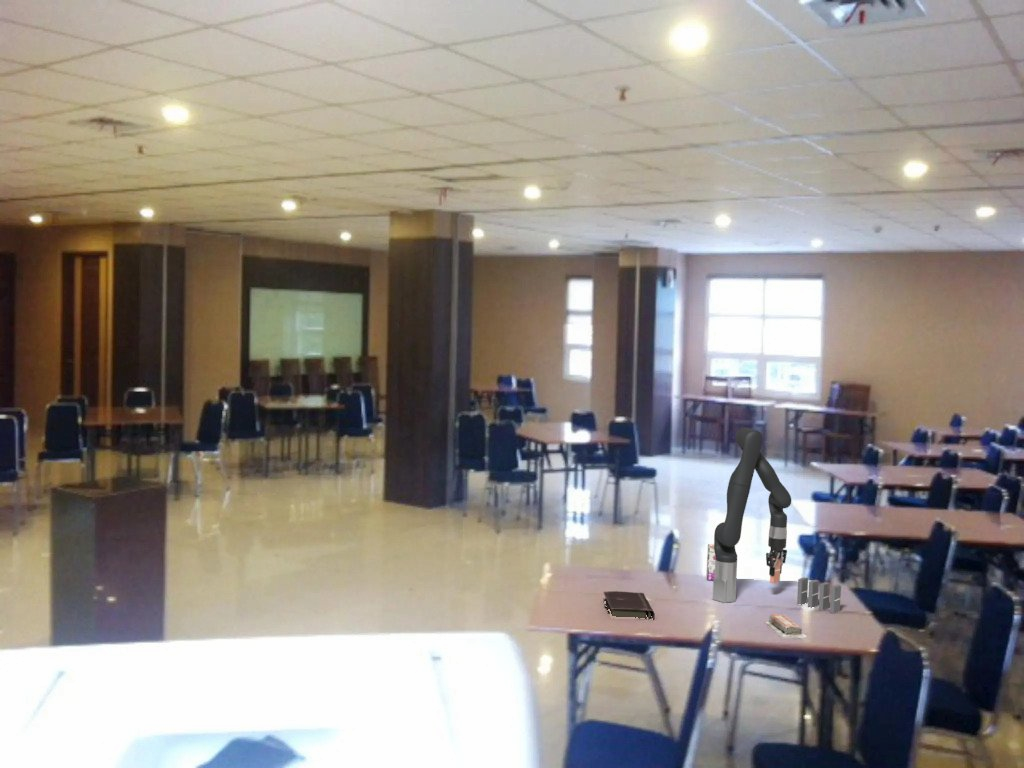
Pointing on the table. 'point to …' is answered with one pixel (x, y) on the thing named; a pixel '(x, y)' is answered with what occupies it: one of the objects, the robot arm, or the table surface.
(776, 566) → the domino
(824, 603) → the domino
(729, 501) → the robot arm
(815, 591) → the domino
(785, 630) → the packaged product
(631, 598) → the diary
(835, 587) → the domino
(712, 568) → the candy bar box
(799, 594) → the domino
